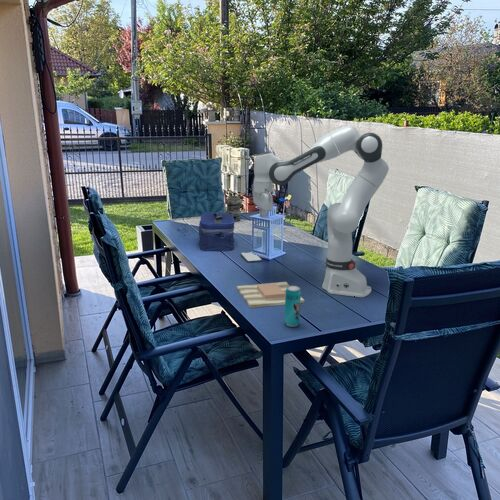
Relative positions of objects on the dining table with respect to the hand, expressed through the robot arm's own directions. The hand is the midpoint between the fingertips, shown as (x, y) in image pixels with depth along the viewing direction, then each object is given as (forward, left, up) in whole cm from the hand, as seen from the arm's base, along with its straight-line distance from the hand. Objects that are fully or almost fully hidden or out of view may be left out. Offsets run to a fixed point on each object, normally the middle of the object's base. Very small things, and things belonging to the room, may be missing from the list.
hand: (262, 216), depth 229 cm
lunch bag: (+53, -40, -31) cm, 74 cm away
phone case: (+22, -28, -32) cm, 47 cm away
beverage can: (-35, +40, -31) cm, 62 cm away
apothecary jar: (+81, -105, -31) cm, 136 cm away
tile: (-10, +14, -29) cm, 33 cm away
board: (-13, +17, -31) cm, 38 cm away
